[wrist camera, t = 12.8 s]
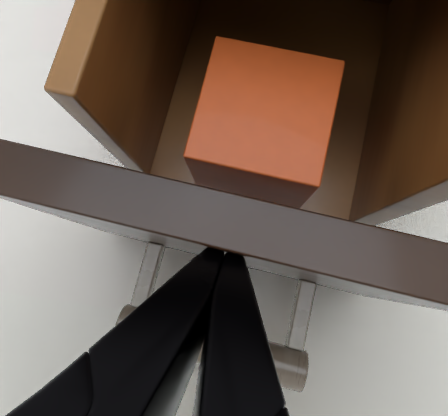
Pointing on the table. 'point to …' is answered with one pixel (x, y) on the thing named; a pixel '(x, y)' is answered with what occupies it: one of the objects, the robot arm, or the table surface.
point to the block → (263, 121)
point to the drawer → (239, 204)
